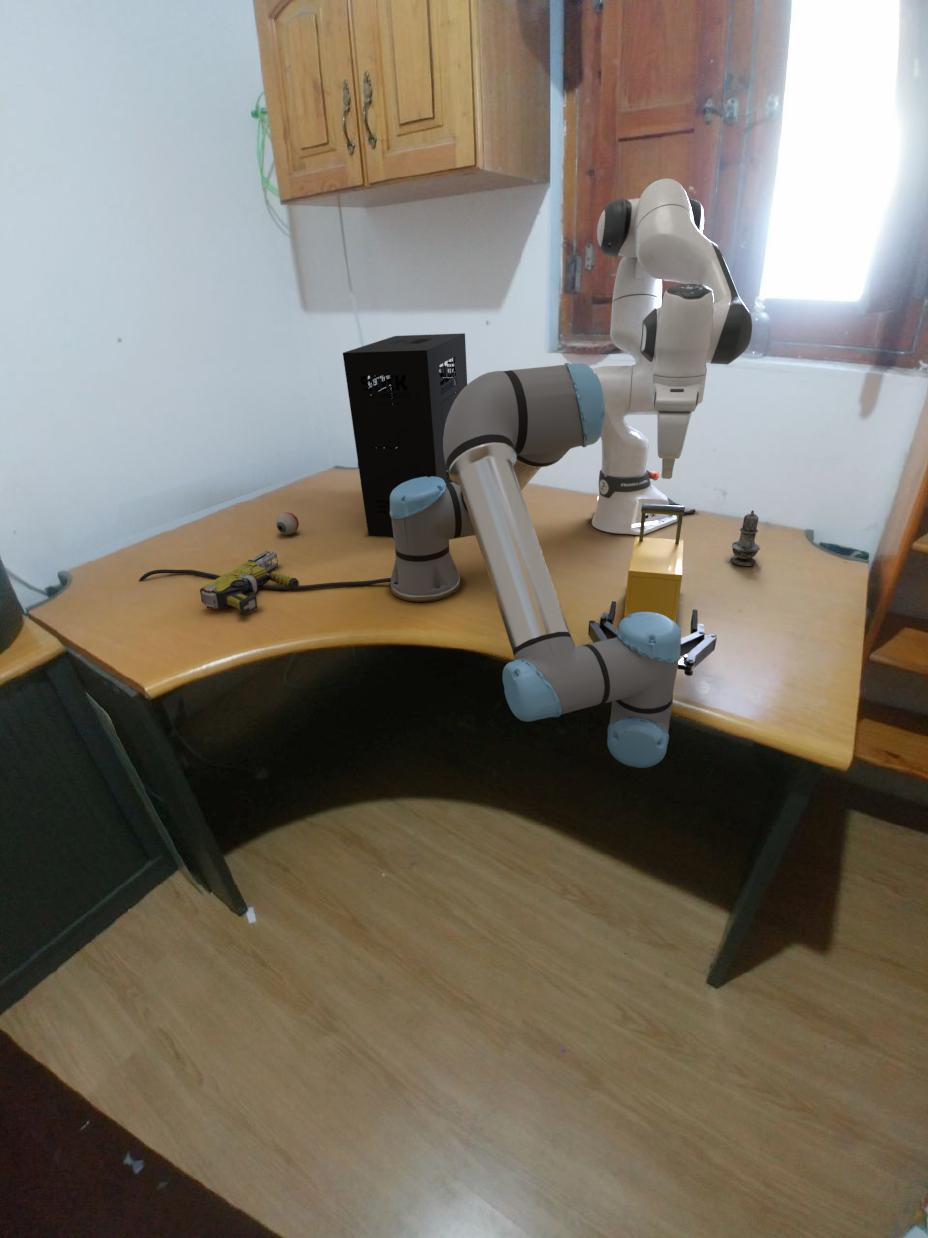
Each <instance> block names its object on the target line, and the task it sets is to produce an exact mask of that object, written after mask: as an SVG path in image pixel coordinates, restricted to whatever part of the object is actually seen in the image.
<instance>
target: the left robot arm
mask: <svg viewBox="0 0 928 1238" xmlns="http://www.w3.org/2000/svg"><path fill="white" fill-rule="evenodd" d="M593 369H594V368H592V367H591V366H589V364H587V363H570V362H565V363H564V364H558V365H550V366H540V367H538V366H537V367H529V368H517V369H508V370H495V371H490V372H486V373H483V374H481V375H479V376H477V377H476V378H475V379H472V380H470V382H469V383H467V386H466V387H464V388H463V390H462V391H461V392H460V393H459V395H458V396H457V398H456V399H455V401H454V403H453V404H452V407H451V409H450V411H449V413H448V416H447V419H446V423H445V428H444V436H443V452H444V459H445V463H446V467H447V470H448V473H449V476H450V479H451V480H452V483H447V484H446V483H445V482H444V480H443V479H442V478H440V477H434V476H431V477H420V478H415V479H412V480H409V481H406V482H404V483H402V484H400V485H398V486H397V487H396V488H395V489H394V490H393V491H392V492H391V495H390V516H391V519H392V528H393V536H392V537H393V544H394V551H395V559H394V562H393V568H392V572H391V577H385V578H379V579H371V580H358V581H336V582H335V581H334V582H325V583H314V584H305V585H299V586H294V588H290V587H288V586H284V585H272V584H271V585H270V584H263V585H259V586H258V587H257V589H262V590H270V591H303V590H304V591H305V590H315V589H323V588H334V587H335V588H336V587H353V586H354V587H355V586H370V585H377V584H385V583H390V589H391V593H392V594H393V595H394V596H395V597H397V598H399V599H401V600H403V601H406V602H413V603H427V602H429V603H430V602H435V601H439V600H442V599H445V598H448V597H451V596H452V595H454V594H455V593H456V592H457V591H458V590H459V588H460V586H461V578H460V574H459V571H460V568H459V570H458V568H457V566H456V563H455V561H454V559H453V556H452V554H451V551H450V550H451V549H450V541H451V540H455V539H460V538H467V537H472V536H475V537H476V541H477V544H478V546H479V547H478V548H479V550H480V553H481V556H482V560H483V563H484V566H485V568H486V573H487V575H488V579H489V581H490V585H491V588H492V591H493V594H494V597H495V600H496V603H497V604H496V605H497V607H498V611H499V613H500V617H501V619H502V622H503V625H504V629H505V632H506V635H507V638H508V641H509V645H510V648H511V651H512V654H513V658H514V659H513V661H510V662H508V663H506V665H505V666H504V667H503V669H502V684H503V689H504V696H505V700H506V703H507V704H508V707H509V710H510V711H511V712H512V714H513V715H514V716H515V717H516V718H517V719H518V720H520V721H522V722H527V723H528V722H529V723H530V722H534V721H538V720H542V719H549V718H559V717H560V716H561V715H564V714H568V713H572V712H576V711H580V710H583V709H587V708H591V707H595V706H599V705H603V704H607V703H611V709H610V710H611V711H610V720H609V724H608V725H607V740H606V741H607V742H606V744H607V748H608V751H609V753H610V754H611V756H612V757H613V758H614V759H615V760H616V761H617V762H619V763H621V764H623V765H625V766H627V767H632V768H637V769H647V768H650V767H651V768H652V767H654V766H655V765H657V764H659V763H660V762H661V761H663V759H664V758H665V756H666V753H667V751H668V744H669V740H670V734H669V728H670V720H671V715H672V707H673V700H674V699H673V698H674V688H675V684H676V678H677V673H678V670H682V671H684V675H685V676H688V677H690V676H693V674H694V670H695V668H697V666H698V665H700V664H701V663H702V662H703V661H704V660H705V659H706V658H707V657H708V656H709V655H711V654H712V653H713V652H714V651H715V649H716V644H717V641H718V635H717V634H715V633H710V634H706V631H705V630H706V629H705V624H704V623H700V622H698V620H699V619H698V617H699V615H698V613H699V611H698V609H693V610H692V613H691V619H690V634H689V635H686V636H684V637H682V631H681V628H680V626H679V625H678V624H677V622H676V623H675V622H674V621H672V620H671V619H670V618H668V617H666V616H664V615H661V614H658V613H653V612H637V613H632V614H629V615H628V616H627V617H626V618H624V617H623V618H622V619H621V620H620V622H619V624H618V628H617V627H616V626H614V623H615V618H616V610H617V609H616V608H617V600H616V601H615V600H612V601H611V604H610V608H609V612H603V613H602V614H601V616H600V618H599V621H596V620H594V619H591V620H588V631H587V635H588V637H589V638H590V640H591V642H592V643H586V644H582V645H578V646H576V643H575V641H574V639H573V637H572V635H571V631H570V629H569V625H568V623H567V620H566V617H565V613H564V611H563V608H562V604H561V602H560V599H559V596H558V594H557V590H556V588H555V585H554V582H553V579H552V575H551V574H550V571H549V567H548V565H547V562H546V559H545V556H544V553H543V550H542V547H541V544H540V541H539V538H538V536H537V533H536V529H535V527H534V524H533V522H532V519H531V516H530V512H529V509H528V507H527V503H526V501H525V497H524V495H523V492H522V491H523V489H524V488H525V487H526V486H527V485H528V483H529V482H530V481H531V480H532V479H533V478H534V476H535V475H536V474H537V473H538V472H539V470H540V469H541V468H547V467H551V466H552V465H555V464H556V463H558V462H559V461H560V460H561V459H562V458H563V457H565V455H566V454H567V453H568V452H569V451H570V450H571V449H574V448H578V447H582V448H587V446H591V445H592V446H593V445H595V444H596V443H597V442H598V441H599V440H600V439H601V437H600V436H601V434H602V431H603V427H604V421H605V402H604V395H603V390H602V387H601V383H600V381H599V378H598V376H597V374H596V373H595V371H594V370H593ZM458 562H460V561H459V559H458ZM157 574H160V575H161V574H178V575H179V574H188V575H189V574H190V575H195V576H196V575H197V576H202V577H206V578H212V579H214V580H215V579H217V578H219V577H221V576H222V575H218V574H216V573H210V572H205V571H200V570H195V569H167V568H166V569H154V570H151V571H148V572H146V573H144V574H143V575H142V576H141V577H140V578H139V579H138V582H143V581H145V580H146V579H147V578H148V577H151V576H154V575H157ZM681 657H682V658H681Z"/></svg>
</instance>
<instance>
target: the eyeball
mask: <svg viewBox="0 0 928 1238" xmlns="http://www.w3.org/2000/svg"><path fill="white" fill-rule="evenodd" d="M299 525H300V522H299V519H298V517H297V516H296V515H295V514H294V513H292V512H287V511H286V512H282V513H280V514H279V515H278V516H277V517H276V520H275V527H276V529H277V530H278V531H279V532H280V533H281V534H282V535H285V536H286V535H287V536H289V535H293V534H295V533H296V532H297V531H298V529H299Z"/></svg>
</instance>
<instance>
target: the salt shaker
mask: <svg viewBox="0 0 928 1238" xmlns="http://www.w3.org/2000/svg"><path fill="white" fill-rule="evenodd" d="M758 523H759V516H758V515H757V514H755V511H754V509H752V510H751V511H750V513H747V514H746V515H744V517H743V522H742V527H740V528H739V531H740V535H739V539H738V541H734V542H732V543H731V548H732V549H731V550H732V553H733V555H734V556H731V557H730V559H729V561H730V563H732V564H735V565H738V566H741V567H750V566H753V565H755V564H756V563H757V562H756V559H754V557H756V555H757V554H758V552H759V551H760V550H761V546H760V545H759V544H757V543H756V536H757V533H758V532H759V530H758V529H757V528H758Z"/></svg>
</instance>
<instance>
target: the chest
mask: <svg viewBox="0 0 928 1238" xmlns="http://www.w3.org/2000/svg"><path fill="white" fill-rule="evenodd" d="M681 587H682V580H681V581H680V580H669V579H658V578H647V577H636V576H628V575H627V583H626V592H625V604H624V614H623V619H624V618H626V617H627V616H628V615H629V614H632V613H637V612H653V613H658V614H661V615H664V616H666V617H668V618H670V619H671V620H672V621H674V622H675V623H676V624H677V616H678V608H679V601H680V595H681V594H680V593H681Z"/></svg>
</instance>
